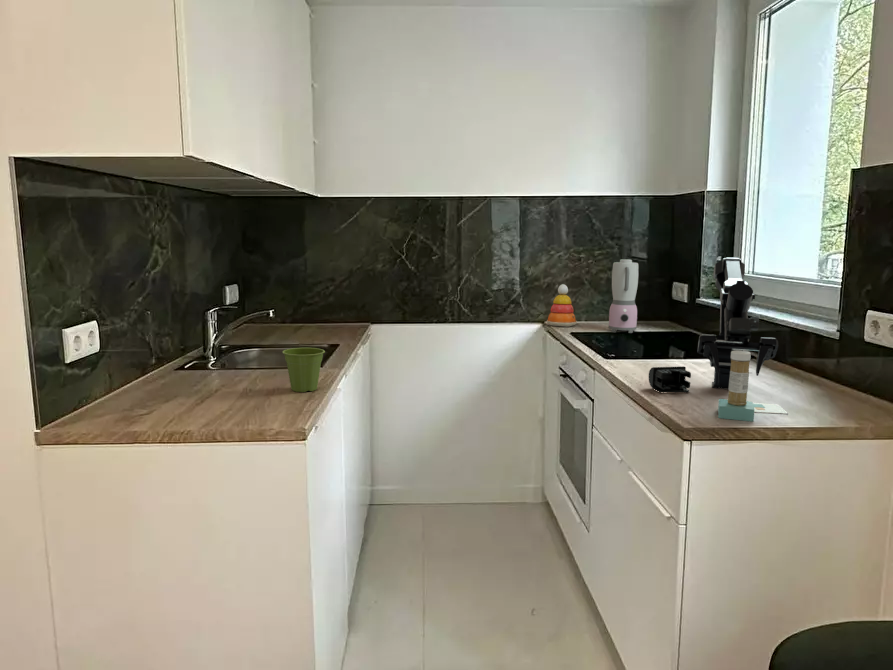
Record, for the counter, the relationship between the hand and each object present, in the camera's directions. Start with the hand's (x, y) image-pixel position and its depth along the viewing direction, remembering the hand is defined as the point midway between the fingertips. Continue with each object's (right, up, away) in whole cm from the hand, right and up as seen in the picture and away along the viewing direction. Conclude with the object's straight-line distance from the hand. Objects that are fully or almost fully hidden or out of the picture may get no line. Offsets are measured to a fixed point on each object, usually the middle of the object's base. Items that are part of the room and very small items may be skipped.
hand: (737, 373), depth 171 cm
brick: (-1, -11, 0) cm, 11 cm away
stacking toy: (-19, +14, +150) cm, 152 cm away
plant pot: (-114, -6, +23) cm, 117 cm away
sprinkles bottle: (0, -8, 0) cm, 8 cm away
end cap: (-9, -7, +26) cm, 29 cm away
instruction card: (+9, -10, +7) cm, 15 cm away
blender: (+6, +11, +133) cm, 134 cm away
